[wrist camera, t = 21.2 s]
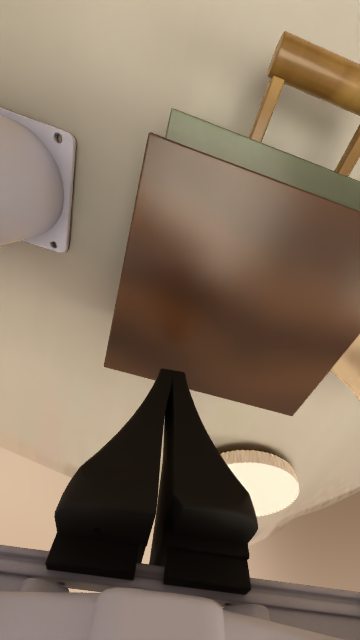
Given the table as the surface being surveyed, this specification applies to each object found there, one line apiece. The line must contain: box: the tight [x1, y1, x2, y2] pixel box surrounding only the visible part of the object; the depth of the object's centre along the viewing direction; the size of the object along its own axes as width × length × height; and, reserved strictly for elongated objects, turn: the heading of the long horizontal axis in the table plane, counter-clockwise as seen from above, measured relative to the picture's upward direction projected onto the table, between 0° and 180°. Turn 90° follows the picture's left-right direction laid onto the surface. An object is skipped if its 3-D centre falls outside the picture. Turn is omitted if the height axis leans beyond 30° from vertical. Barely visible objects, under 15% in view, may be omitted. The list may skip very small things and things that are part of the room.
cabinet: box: [104, 133, 360, 416], centre depth 17 cm, size 14×15×7 cm
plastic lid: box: [220, 450, 300, 517], centre depth 32 cm, size 14×14×2 cm
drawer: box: [165, 31, 360, 211], centre depth 15 cm, size 17×13×5 cm
